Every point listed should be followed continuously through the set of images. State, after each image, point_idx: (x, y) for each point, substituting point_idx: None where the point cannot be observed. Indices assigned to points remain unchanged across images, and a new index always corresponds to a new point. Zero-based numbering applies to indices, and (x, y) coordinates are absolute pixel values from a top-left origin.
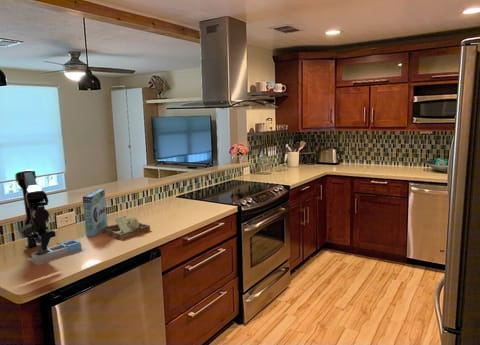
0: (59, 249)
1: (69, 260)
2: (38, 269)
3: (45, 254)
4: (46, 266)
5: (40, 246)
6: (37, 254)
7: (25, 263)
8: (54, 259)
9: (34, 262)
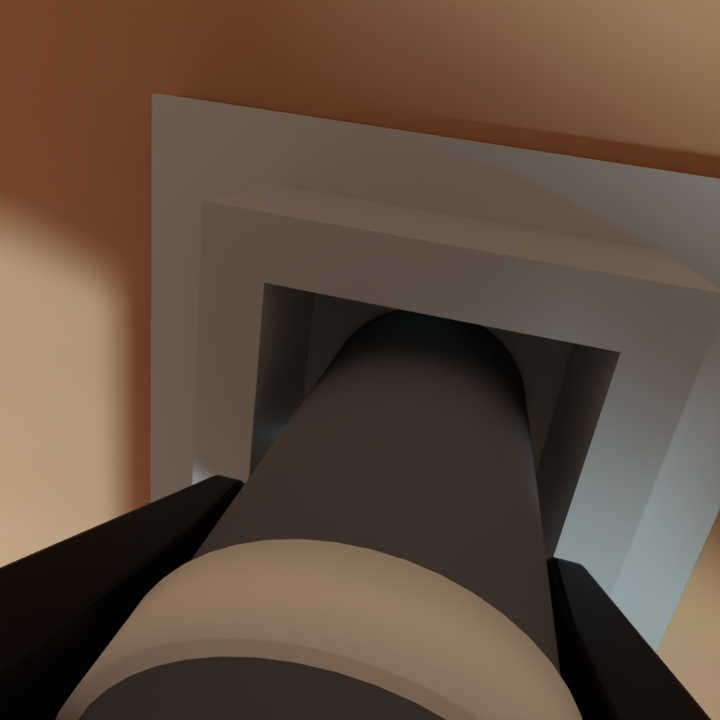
0: None
1: (33, 535)
2: (49, 30)
3: (196, 413)
4: (76, 213)
5: (210, 536)
6: (585, 399)
7: (704, 63)
8: (157, 444)
9: (379, 149)
